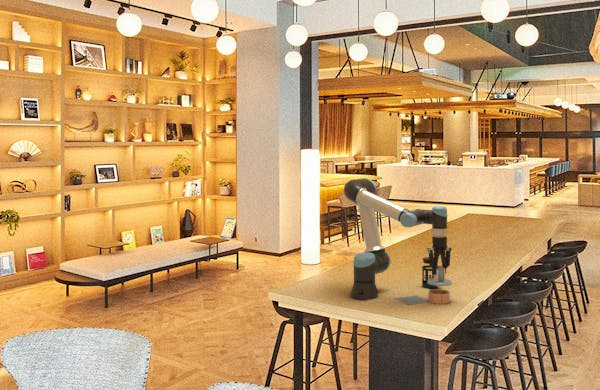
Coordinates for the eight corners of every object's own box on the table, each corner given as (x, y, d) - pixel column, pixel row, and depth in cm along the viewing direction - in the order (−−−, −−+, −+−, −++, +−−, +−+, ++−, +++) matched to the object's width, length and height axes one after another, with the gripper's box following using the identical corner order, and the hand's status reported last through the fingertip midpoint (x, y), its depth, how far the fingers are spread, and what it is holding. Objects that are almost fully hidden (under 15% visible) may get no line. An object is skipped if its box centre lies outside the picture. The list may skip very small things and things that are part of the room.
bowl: (425, 300, 297) (425, 290, 296) (441, 298, 300) (441, 288, 300) (436, 305, 287) (436, 295, 287) (453, 303, 291) (453, 293, 290)
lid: (422, 281, 296) (422, 265, 296) (442, 279, 301) (442, 263, 300) (436, 287, 285) (436, 269, 284) (457, 284, 289) (457, 267, 288)
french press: (417, 287, 323) (417, 248, 321) (425, 284, 331) (425, 246, 329) (436, 290, 316) (437, 250, 314) (443, 287, 323) (444, 248, 321)
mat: (393, 299, 300) (393, 298, 300) (416, 296, 305) (416, 295, 305) (407, 306, 287) (407, 305, 287) (431, 302, 292) (431, 302, 292)
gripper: (430, 238, 284) (430, 283, 286) (457, 236, 290) (457, 280, 292) (421, 236, 291) (422, 280, 293) (448, 234, 297) (448, 277, 299)
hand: (439, 280), depth 293 cm, fingers closed on lid, 3 cm apart
